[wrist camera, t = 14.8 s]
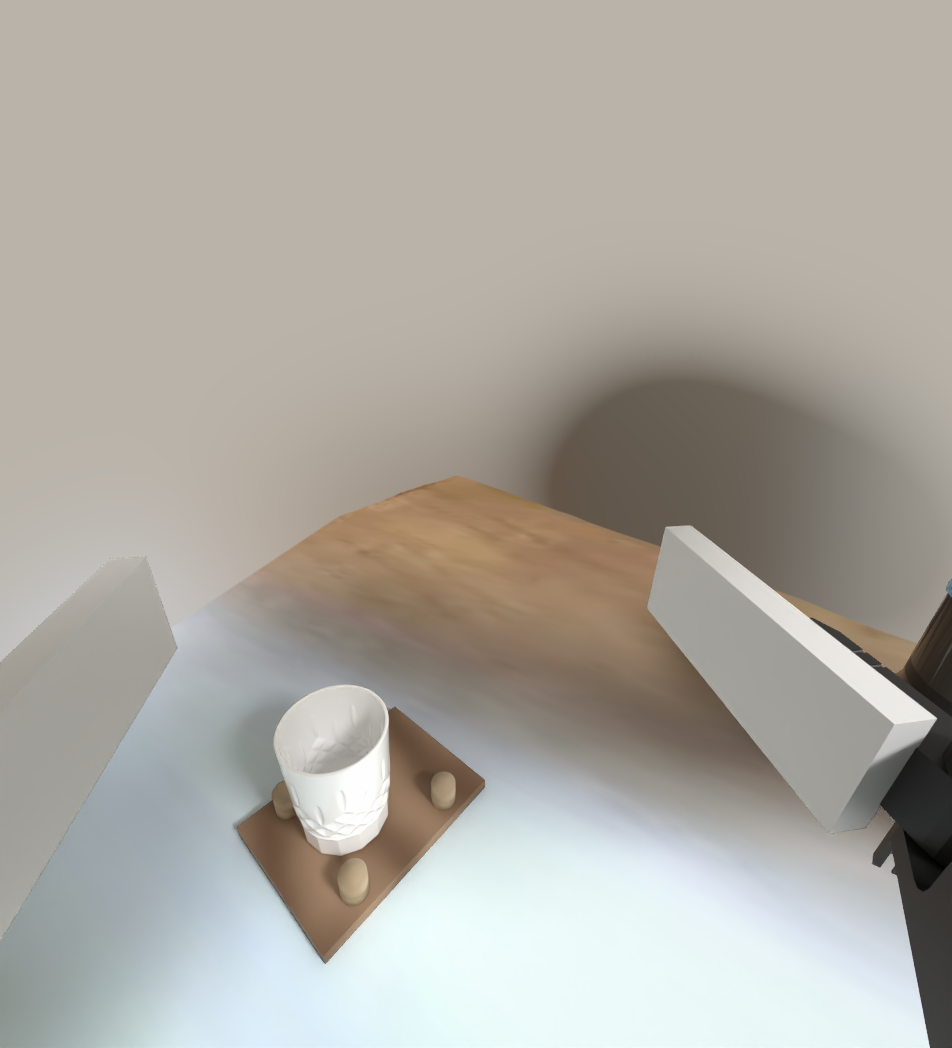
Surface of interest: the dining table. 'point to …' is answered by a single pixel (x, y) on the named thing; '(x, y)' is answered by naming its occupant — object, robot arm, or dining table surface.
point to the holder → (372, 872)
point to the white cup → (337, 766)
